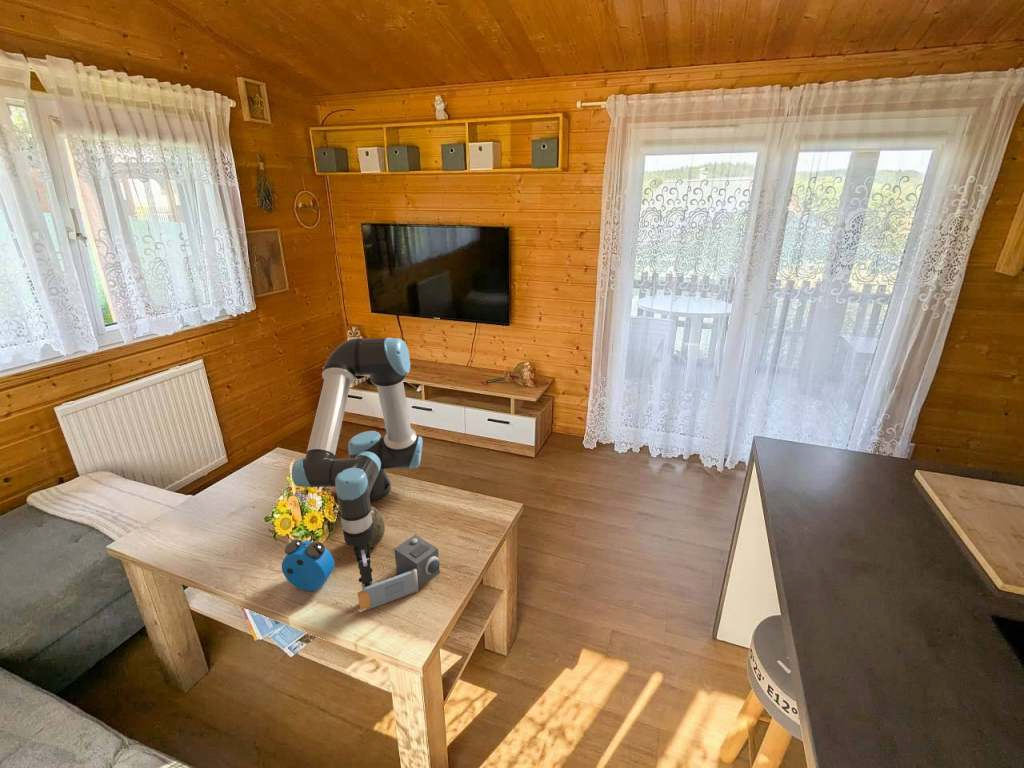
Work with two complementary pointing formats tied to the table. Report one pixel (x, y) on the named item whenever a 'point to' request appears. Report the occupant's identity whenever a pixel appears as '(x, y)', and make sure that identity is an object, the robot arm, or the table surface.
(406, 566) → the camera body
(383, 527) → the decorative egg
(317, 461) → the robot arm
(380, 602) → the side door
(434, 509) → the table surface
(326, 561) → the alarm clock
